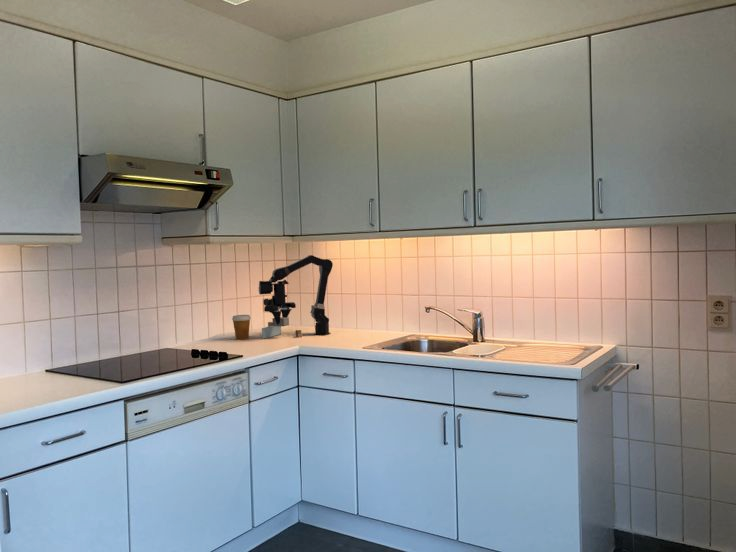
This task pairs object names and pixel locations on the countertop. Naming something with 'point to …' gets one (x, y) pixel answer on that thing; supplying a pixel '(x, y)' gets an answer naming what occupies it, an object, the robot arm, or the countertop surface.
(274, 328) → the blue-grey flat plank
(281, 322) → the grey rectangular block
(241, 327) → the disposable coffee cup
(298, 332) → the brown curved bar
